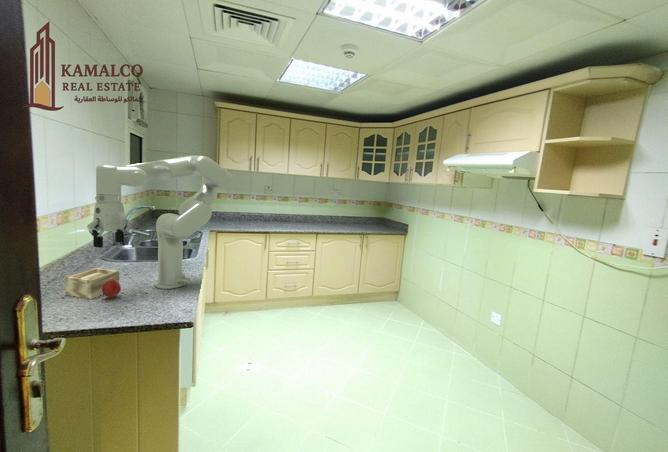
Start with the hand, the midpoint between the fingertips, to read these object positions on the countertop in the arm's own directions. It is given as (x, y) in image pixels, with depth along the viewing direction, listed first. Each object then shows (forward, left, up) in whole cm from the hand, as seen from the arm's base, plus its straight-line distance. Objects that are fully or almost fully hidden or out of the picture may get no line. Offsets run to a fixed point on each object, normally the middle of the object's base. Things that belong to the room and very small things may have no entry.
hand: (109, 244), depth 118 cm
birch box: (+10, -4, -21) cm, 24 cm away
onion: (-1, 0, -21) cm, 21 cm away
